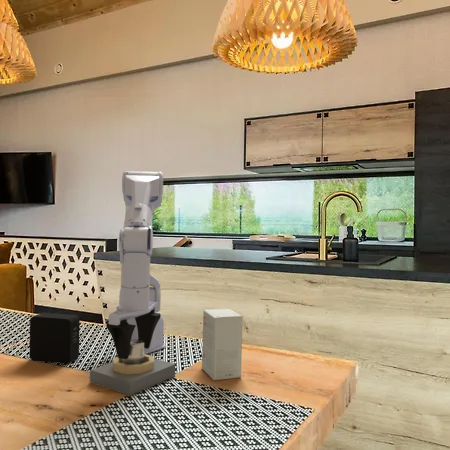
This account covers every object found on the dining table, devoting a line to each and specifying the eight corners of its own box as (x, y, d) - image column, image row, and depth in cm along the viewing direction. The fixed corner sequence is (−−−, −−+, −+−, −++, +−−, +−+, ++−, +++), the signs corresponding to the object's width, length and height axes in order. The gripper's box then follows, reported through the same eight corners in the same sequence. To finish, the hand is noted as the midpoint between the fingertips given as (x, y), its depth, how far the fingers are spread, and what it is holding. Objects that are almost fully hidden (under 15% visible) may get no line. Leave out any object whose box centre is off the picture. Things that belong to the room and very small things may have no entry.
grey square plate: (136, 365, 102) (137, 347, 102) (175, 376, 96) (175, 357, 96) (89, 382, 92) (90, 362, 91) (129, 395, 85) (130, 374, 85)
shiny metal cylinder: (129, 362, 97) (129, 338, 97) (147, 364, 95) (148, 340, 95) (117, 368, 93) (117, 343, 93) (136, 371, 91) (137, 346, 91)
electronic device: (69, 364, 102) (70, 319, 102) (29, 360, 104) (29, 316, 104) (79, 358, 106) (79, 315, 106) (40, 354, 108) (40, 312, 108)
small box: (241, 378, 96) (243, 315, 96) (212, 381, 94) (214, 317, 94) (228, 365, 104) (229, 307, 103) (201, 368, 102) (202, 309, 101)
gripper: (138, 280, 102) (137, 341, 102) (96, 289, 88) (94, 360, 89) (166, 282, 99) (165, 345, 99) (126, 292, 86) (125, 365, 86)
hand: (134, 352), depth 94 cm, fingers open, 7 cm apart
